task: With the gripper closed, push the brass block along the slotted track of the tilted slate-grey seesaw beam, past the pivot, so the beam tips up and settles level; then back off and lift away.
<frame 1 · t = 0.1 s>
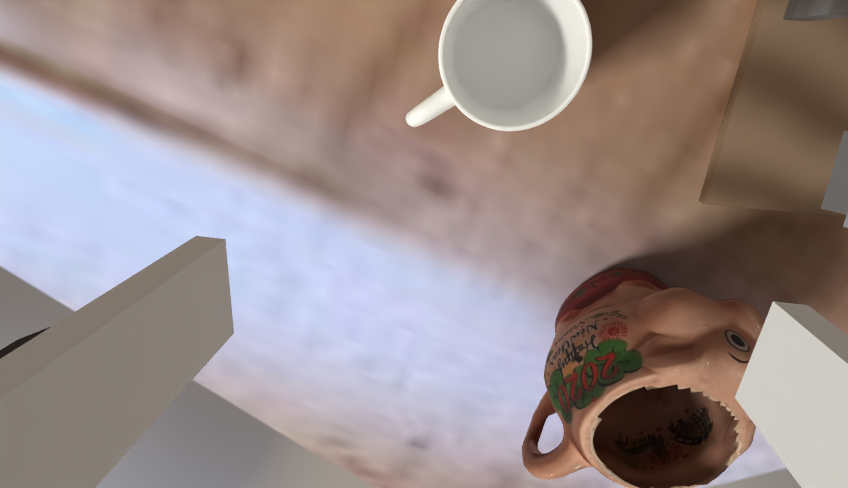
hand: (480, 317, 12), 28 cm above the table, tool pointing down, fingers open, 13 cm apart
cup: (483, 69, 36), on the table
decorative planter: (601, 327, 43), on the table
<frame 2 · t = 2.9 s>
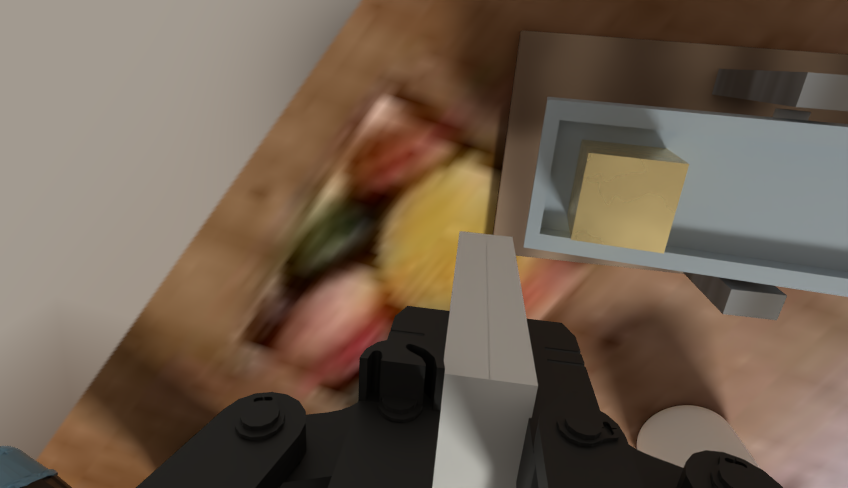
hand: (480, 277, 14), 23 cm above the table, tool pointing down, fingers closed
cup: (689, 451, 43), on the table
beam: (763, 194, 27), point 7 cm above the table, hinge at -7.3°, touching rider
beam stand: (706, 167, 34), on the table
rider: (614, 183, 27), point 8 cm above the table, tilted 7°, touching beam
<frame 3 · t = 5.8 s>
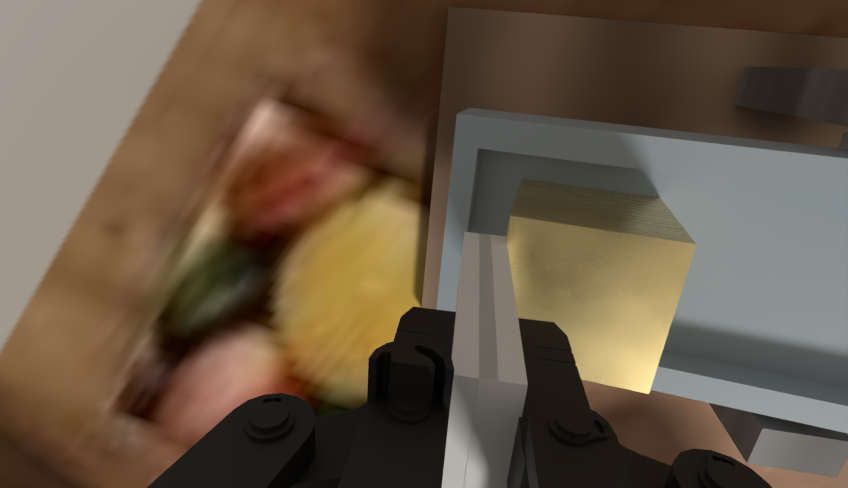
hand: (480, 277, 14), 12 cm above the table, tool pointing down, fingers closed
beam: (817, 270, 17), point 7 cm above the table, hinge at -7.3°, touching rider
beam stand: (723, 209, 24), on the table
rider: (575, 248, 17), point 8 cm above the table, tilted 7°, touching beam, gripper
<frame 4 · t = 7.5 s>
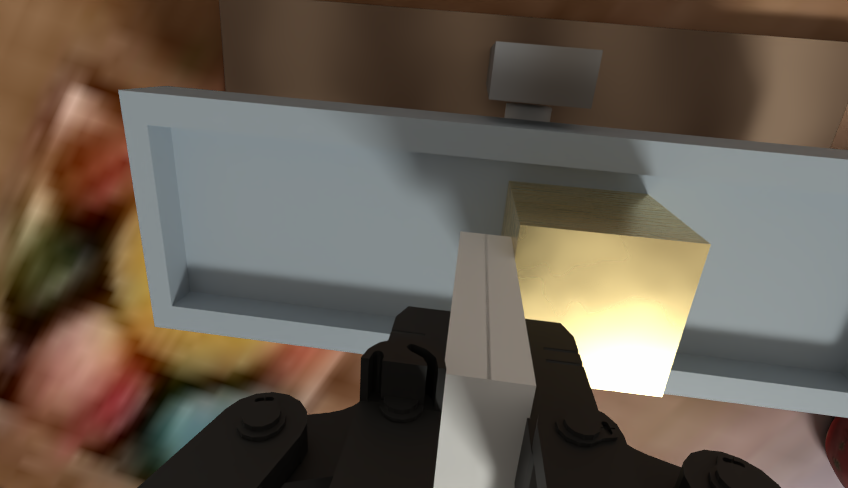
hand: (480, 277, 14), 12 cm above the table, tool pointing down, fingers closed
beam: (509, 230, 18), point 7 cm above the table, hinge at 0.3°, touching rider
beam stand: (502, 184, 25), on the table
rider: (565, 250, 16), point 9 cm above the table, touching beam, gripper
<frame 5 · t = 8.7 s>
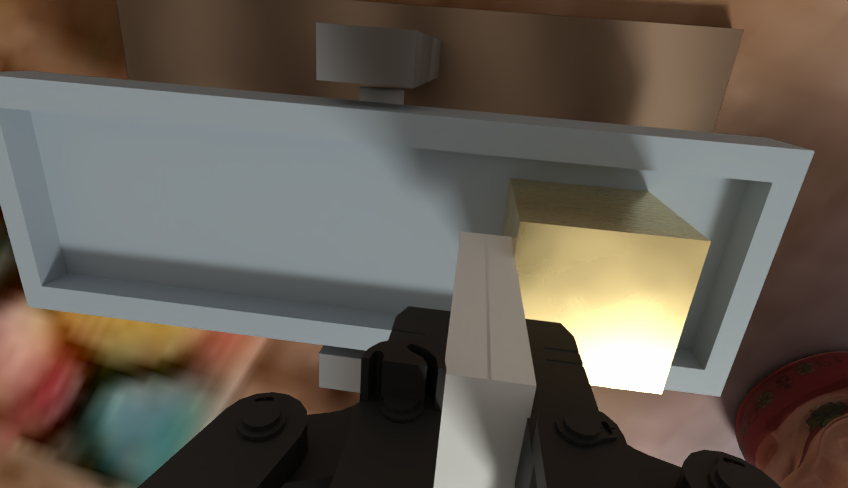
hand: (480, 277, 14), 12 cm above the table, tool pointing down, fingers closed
beam: (377, 212, 19), point 7 cm above the table, hinge at 0.3°
beam stand: (404, 172, 25), on the table
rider: (565, 247, 16), point 9 cm above the table, touching gripper
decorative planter: (835, 428, 28), on the table
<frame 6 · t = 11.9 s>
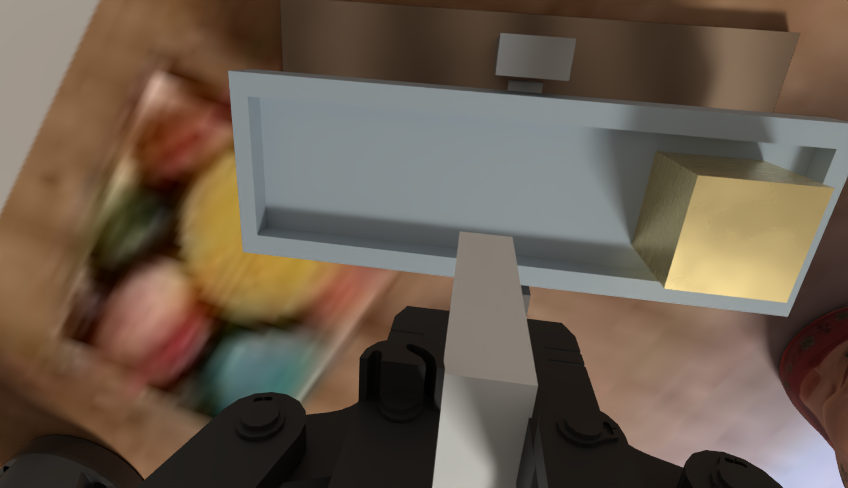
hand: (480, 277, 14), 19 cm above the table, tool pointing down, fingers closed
beam: (511, 179, 24), point 7 cm above the table, hinge at 0.3°, touching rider
beam stand: (506, 151, 31), on the table
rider: (694, 204, 21), point 9 cm above the table, touching beam
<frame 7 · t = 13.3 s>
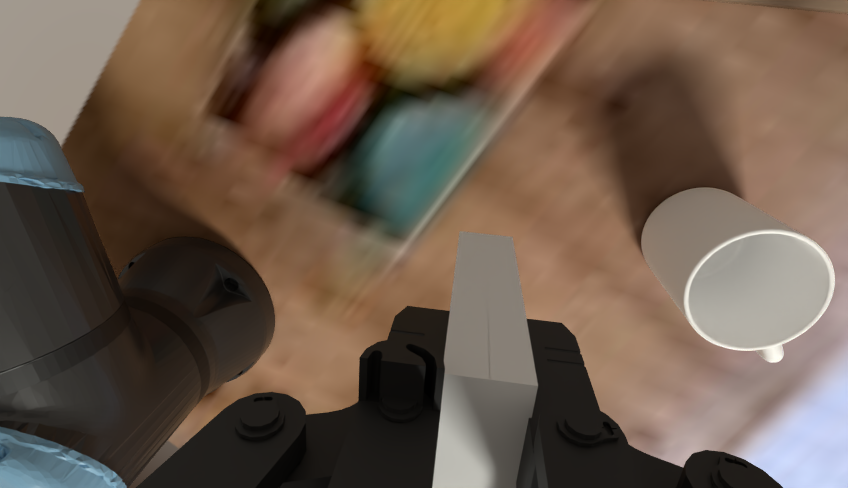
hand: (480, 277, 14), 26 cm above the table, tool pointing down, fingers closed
cup: (700, 252, 39), on the table
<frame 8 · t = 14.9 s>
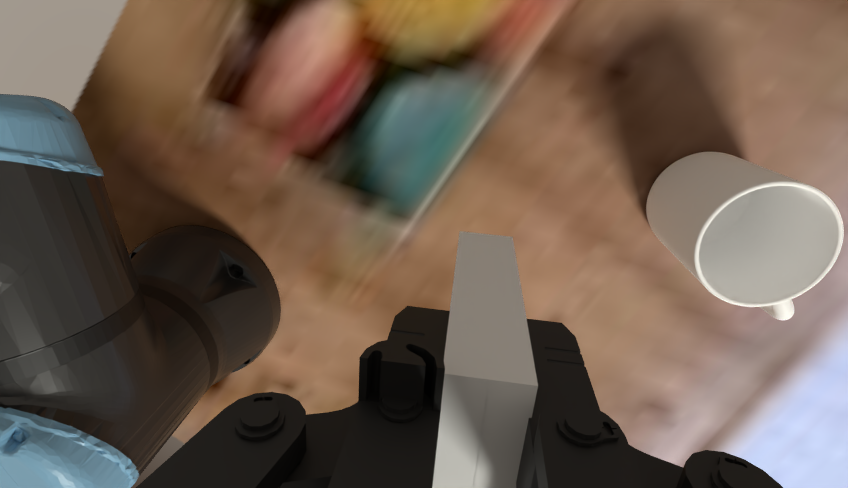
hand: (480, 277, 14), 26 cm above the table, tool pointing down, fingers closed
cup: (705, 218, 39), on the table
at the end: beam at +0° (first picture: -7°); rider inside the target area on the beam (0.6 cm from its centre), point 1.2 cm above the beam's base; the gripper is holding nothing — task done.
